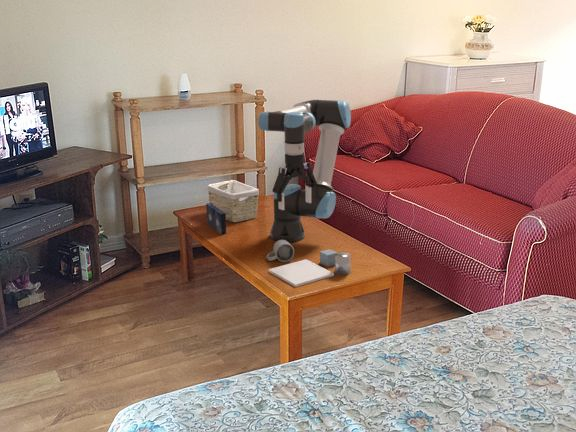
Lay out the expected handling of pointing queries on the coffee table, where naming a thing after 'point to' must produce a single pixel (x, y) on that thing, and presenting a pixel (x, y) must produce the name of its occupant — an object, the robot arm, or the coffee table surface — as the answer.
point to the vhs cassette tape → (216, 218)
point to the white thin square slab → (301, 272)
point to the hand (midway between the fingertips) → (295, 205)
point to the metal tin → (342, 263)
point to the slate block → (327, 257)
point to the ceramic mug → (281, 251)
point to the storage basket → (234, 200)
